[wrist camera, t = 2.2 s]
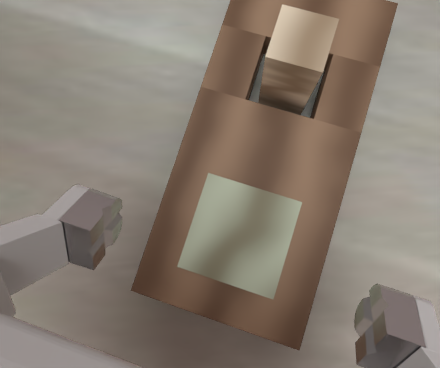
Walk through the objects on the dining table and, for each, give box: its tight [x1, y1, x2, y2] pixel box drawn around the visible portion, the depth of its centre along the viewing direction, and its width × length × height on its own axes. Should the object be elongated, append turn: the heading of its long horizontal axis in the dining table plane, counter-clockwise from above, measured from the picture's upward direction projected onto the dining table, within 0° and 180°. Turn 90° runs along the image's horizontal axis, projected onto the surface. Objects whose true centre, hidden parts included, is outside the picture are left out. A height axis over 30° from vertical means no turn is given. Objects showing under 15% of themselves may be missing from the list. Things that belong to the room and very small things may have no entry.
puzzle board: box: [131, 0, 398, 350], centre depth 30 cm, size 14×30×3 cm, turn 162°
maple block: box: [258, 4, 339, 115], centre depth 27 cm, size 4×4×9 cm
